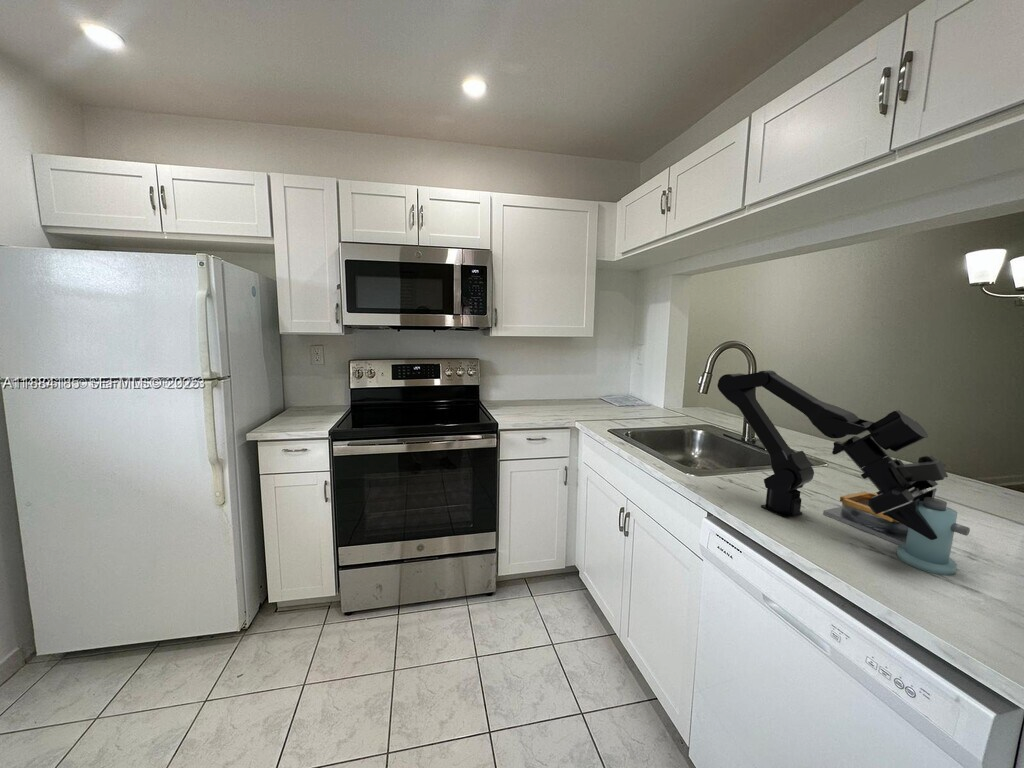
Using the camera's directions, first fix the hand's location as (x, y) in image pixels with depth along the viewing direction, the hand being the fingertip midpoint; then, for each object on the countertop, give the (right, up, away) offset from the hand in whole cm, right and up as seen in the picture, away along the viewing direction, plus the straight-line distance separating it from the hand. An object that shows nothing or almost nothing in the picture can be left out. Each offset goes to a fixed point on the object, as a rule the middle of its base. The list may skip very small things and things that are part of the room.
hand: (940, 534), depth 76 cm
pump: (-1, -6, +2) cm, 7 cm away
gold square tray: (+5, -4, +17) cm, 19 cm away
